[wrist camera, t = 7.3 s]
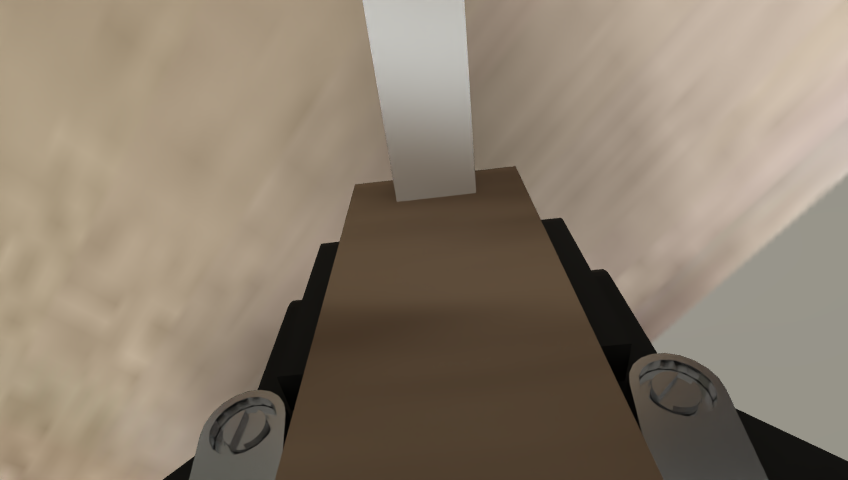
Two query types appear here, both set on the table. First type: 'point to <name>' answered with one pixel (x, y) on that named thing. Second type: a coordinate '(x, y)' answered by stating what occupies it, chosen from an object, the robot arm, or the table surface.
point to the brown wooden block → (451, 305)
